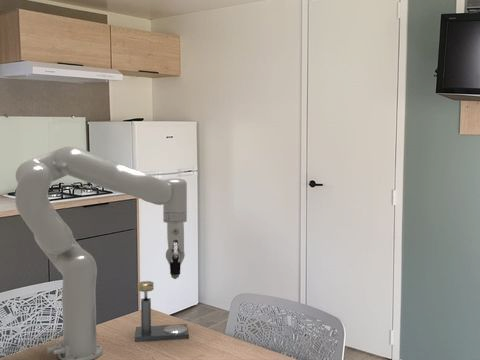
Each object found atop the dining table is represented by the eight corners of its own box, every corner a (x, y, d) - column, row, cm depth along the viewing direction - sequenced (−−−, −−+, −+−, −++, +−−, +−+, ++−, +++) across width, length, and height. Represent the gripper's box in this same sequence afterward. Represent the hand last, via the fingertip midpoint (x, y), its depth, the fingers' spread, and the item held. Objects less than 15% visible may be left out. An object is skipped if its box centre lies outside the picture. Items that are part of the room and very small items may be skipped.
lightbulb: (183, 281, 170) (183, 247, 169) (164, 281, 170) (164, 247, 169) (185, 276, 176) (185, 243, 175) (167, 276, 176) (167, 243, 175)
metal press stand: (134, 341, 169) (134, 304, 168) (136, 331, 178) (135, 296, 176) (188, 338, 171) (188, 302, 170) (186, 328, 180) (186, 293, 179)
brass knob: (137, 305, 170) (137, 285, 169) (138, 300, 175) (138, 281, 174) (153, 305, 171) (153, 285, 170) (153, 300, 175) (153, 280, 175)
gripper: (188, 221, 164) (187, 278, 165) (185, 212, 180) (185, 265, 182) (163, 221, 162) (163, 279, 164) (163, 213, 179) (163, 265, 181)
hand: (175, 271), depth 173 cm, fingers closed on lightbulb, 5 cm apart
